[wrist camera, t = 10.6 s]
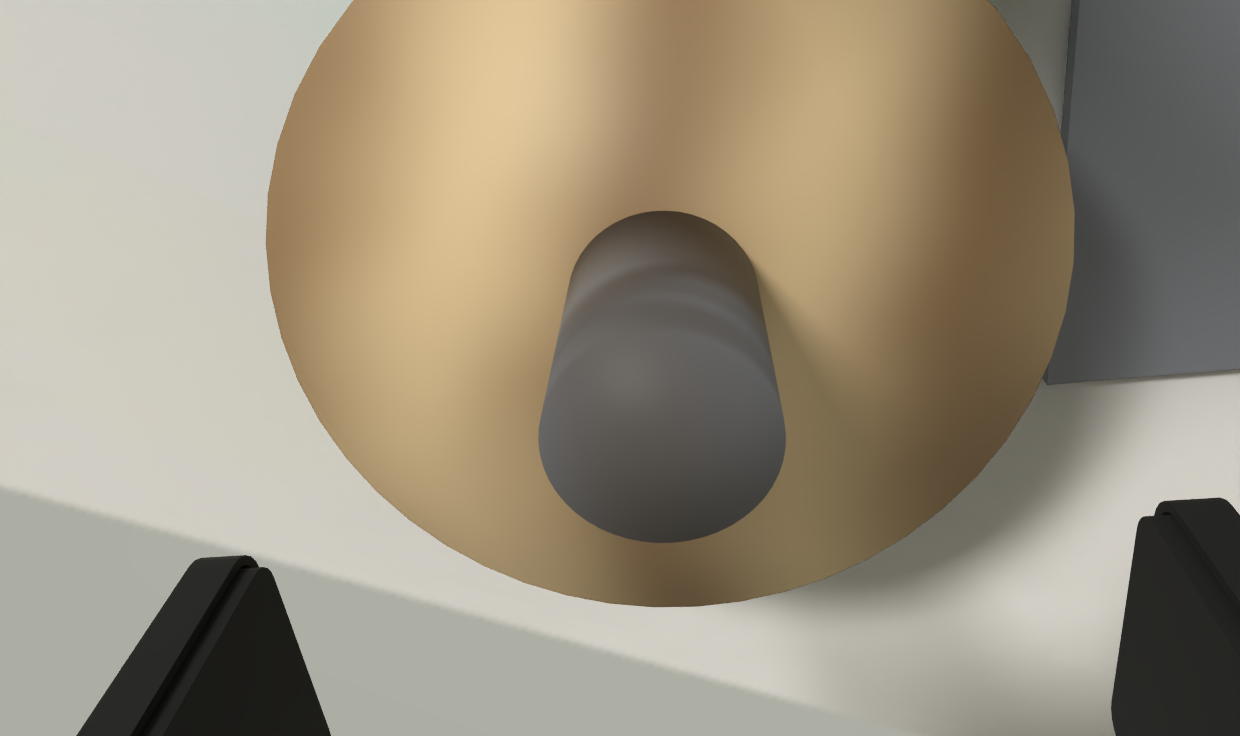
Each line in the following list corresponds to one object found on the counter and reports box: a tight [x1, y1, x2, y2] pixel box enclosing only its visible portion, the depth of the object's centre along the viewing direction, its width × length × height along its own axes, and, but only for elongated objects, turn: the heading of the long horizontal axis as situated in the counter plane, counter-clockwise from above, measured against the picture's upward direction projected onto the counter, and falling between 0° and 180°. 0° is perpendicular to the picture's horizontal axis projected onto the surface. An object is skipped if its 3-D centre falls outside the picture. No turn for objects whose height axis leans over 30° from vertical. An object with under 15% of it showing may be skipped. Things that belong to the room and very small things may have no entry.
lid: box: [266, 0, 1075, 607], centre depth 17 cm, size 15×15×6 cm
